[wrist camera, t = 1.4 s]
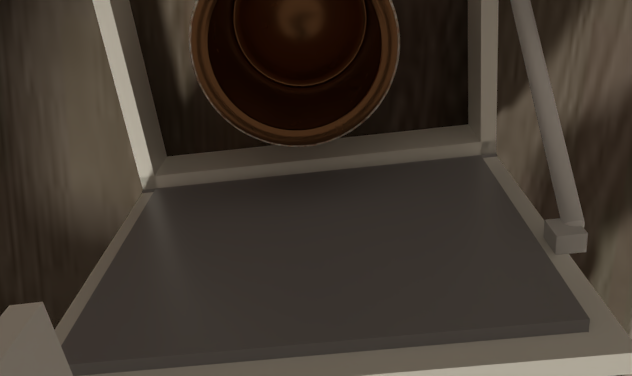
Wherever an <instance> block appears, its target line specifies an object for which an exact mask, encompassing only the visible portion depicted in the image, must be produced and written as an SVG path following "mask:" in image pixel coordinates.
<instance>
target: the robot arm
mask: <svg viewBox="0 0 632 376" xmlns="http://www.w3.org/2000/svg"><path fill="white" fill-rule="evenodd" d="M0 376H73V374H72V372H71V369H70V367H69V364H68V362H67V360H66V357H65V355H64V352H63V350H62V347H61V345H60V342H59V340H58V338H57V335H56V333H55V330H54V328H53V325H52V323H51V320H50V318H49V316H48V313H47V311H46V308H45V306H44V303H43V302H35V303H26V304H17V305H9V306H8V307H7V309H6V310H5V311H4V312H3V314H2V315H1V316H0Z"/></svg>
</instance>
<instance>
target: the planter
mask: <svg viewBox="0 0 632 376" xmlns="http://www.w3.org/2000/svg"><path fill="white" fill-rule="evenodd" d="M189 50H190V57H191V62H192V66H193V70H194V73H195V76H196V79H197V81H198V83H199V86H200V87H201V89H202V91H203V93H204V95H205V96H206V98H207V100H208V101H209V102H210V104H211V105H212V106H213V108H214V109H215V110H216V111H217V112H218V113H219V114H220V115H221V116H222V117H223V118H224V119H225V120H226V121H227V122H228V123H230V124H231V125H232V126H233V127H235V128H236V129H238V130H239V131H241V132H243V133H244V134H246V135H248V136H250V137H252V138H254V139H257V140H259V141H262V142H265V143H269V144H273V145H277V146H284V147H309V146H315V145H320V144H324V143H327V142H330V141H333V140H336V139H338V138H340V137H342V136H344V135H346V134H348V133H350V132H351V131H353V130H354V129H356V128H357V127H359V126H360V125H361V124H362V123H364V122H365V121H366V120H367V119H368V118H369V117H370V116H371V115H372V114H373V113H374V112H375V110H376V109H377V108H378V107H379V105H380V104H381V103H382V101H383V100H384V98H385V96H386V95H387V93H388V91H389V89H390V87H391V84H392V82H393V79H394V77H395V74H396V70H397V66H398V61H399V54H400V31H399V24H398V18H397V14H396V11H395V8H394V5H393V2H392V0H196V2H195V4H194V8H193V11H192V15H191V20H190V28H189Z"/></svg>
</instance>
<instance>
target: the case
mask: <svg viewBox="0 0 632 376" xmlns="http://www.w3.org/2000/svg"><path fill="white" fill-rule="evenodd" d="M92 1H93V4H94V8H95V12H96V16H97V19H98V23H99V27H100V31H101V34H102V38H103V42H104V45H105V49H106V53H107V57H108V60H109V64H110V68H111V72H112V75H113V79H114V83H115V87H116V90H117V94H118V98H119V102H120V105H121V109H122V113H123V116H124V120H125V124H126V128H127V131H128V135H129V139H130V143H131V146H132V150H133V154H134V158H135V161H136V165H137V169H138V173H139V176H140V180H141V184H142V188H143V191H142V194H141V196H140V197H139V199H138V200H137V202H136V203H135V205H134V207H133V208H132V210H131V211H130V213H129V214H128V216H127V218H126V219H125V221H124V222H123V224H122V225H121V227H120V228H119V230H118V232H117V233H116V235H115V236H114V238H113V239H112V241H111V243H110V244H109V246H108V247H107V249H106V250H105V252H104V253H103V255H102V257H101V258H100V260H99V261H98V263H97V264H96V266H95V268H94V269H93V271H92V272H91V274H90V275H89V277H88V278H87V280H86V282H85V283H84V285H83V286H82V288H81V289H80V291H79V292H78V294H77V296H76V297H75V299H74V300H73V302H72V303H71V305H70V307H69V308H68V310H67V311H66V313H65V314H64V316H63V317H62V319H61V321H60V322H59V324H58V325H57V327H56V328H55V333H56V335H57V338H58V340H59V342H60V345H61V347H62V350H63V352H64V355H65V357H66V360H67V362H68V364H69V367H70V369H71V372H72V374H73V376H613V375H625V374H632V339H631V338H630V337H629V335H628V334H627V333H626V331H625V330H624V329H623V327H622V326H621V324H620V323H619V322H618V320H617V319H616V318H615V316H614V315H613V313H612V312H611V311H610V309H609V308H608V307H607V305H606V304H605V303H604V301H603V300H602V298H601V297H600V296H599V294H598V293H597V292H596V290H595V289H594V288H593V286H592V285H591V283H590V282H589V281H588V279H587V278H586V277H585V275H584V274H583V273H582V271H581V270H580V268H579V267H578V266H577V264H576V263H575V262H574V260H573V259H572V258H571V256H570V255H569V254H570V253H581V252H586V250H587V239H588V233H587V231H586V230H585V229H584V226H585V221H584V217H583V213H582V209H581V205H580V201H579V197H578V193H577V189H576V185H575V181H574V177H573V172H572V168H571V164H570V160H569V156H568V152H567V148H566V144H565V140H564V136H563V132H562V128H561V124H560V119H559V115H558V111H557V107H556V103H555V99H554V95H553V91H552V87H551V83H550V79H549V75H548V71H547V66H546V62H545V58H544V54H543V50H542V46H541V42H540V38H539V34H538V30H537V26H536V22H535V18H534V13H533V9H532V5H531V1H530V0H510V2H511V7H512V11H513V15H514V20H515V24H516V28H517V33H518V37H519V41H520V46H521V50H522V54H523V59H524V63H525V67H526V72H527V76H528V80H529V85H530V89H531V93H532V98H533V102H534V106H535V111H536V115H537V119H538V124H539V128H540V132H541V137H542V141H543V145H544V150H545V154H546V158H547V163H548V167H549V171H550V176H551V180H552V184H553V189H554V193H555V197H556V202H557V206H558V210H559V215H560V218H556V219H546V220H544V219H543V218H542V217H541V215H540V214H539V212H538V211H537V210H536V208H535V207H534V206H533V204H532V203H531V202H530V200H529V199H528V197H527V196H526V195H525V193H524V192H523V191H522V189H521V188H520V187H519V185H518V184H517V182H516V181H515V180H514V178H513V177H512V176H511V174H510V173H509V172H508V170H507V169H506V167H505V166H504V165H503V163H502V162H501V161H500V159H499V158H498V157H497V154H496V127H497V66H498V4H499V0H468V124H466V125H457V126H448V127H438V128H429V129H420V130H410V131H401V132H391V133H382V134H373V135H363V136H354V137H345V138H338V139H336V140H333V141H330V142H327V143H324V144H320V145H315V146H309V147H284V146H277V145H270V146H260V147H251V148H242V149H232V150H223V151H213V152H204V153H195V154H185V155H176V156H167V154H166V150H165V146H164V142H163V138H162V134H161V130H160V126H159V121H158V117H157V113H156V109H155V105H154V101H153V97H152V92H151V88H150V84H149V80H148V76H147V72H146V68H145V63H144V59H143V55H142V51H141V47H140V43H139V39H138V35H137V30H136V26H135V22H134V18H133V14H132V10H131V6H130V1H129V0H92Z"/></svg>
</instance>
